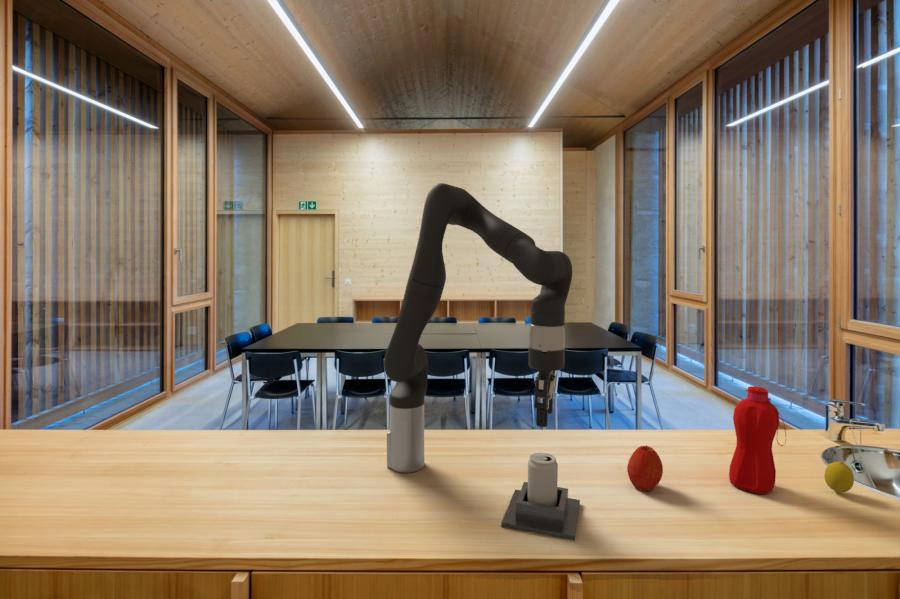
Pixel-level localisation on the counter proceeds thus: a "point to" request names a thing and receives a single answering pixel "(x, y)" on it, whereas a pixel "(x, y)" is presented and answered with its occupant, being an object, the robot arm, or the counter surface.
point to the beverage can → (542, 479)
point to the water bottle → (754, 442)
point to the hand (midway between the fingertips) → (544, 419)
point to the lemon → (839, 477)
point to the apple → (645, 468)
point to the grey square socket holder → (543, 515)
